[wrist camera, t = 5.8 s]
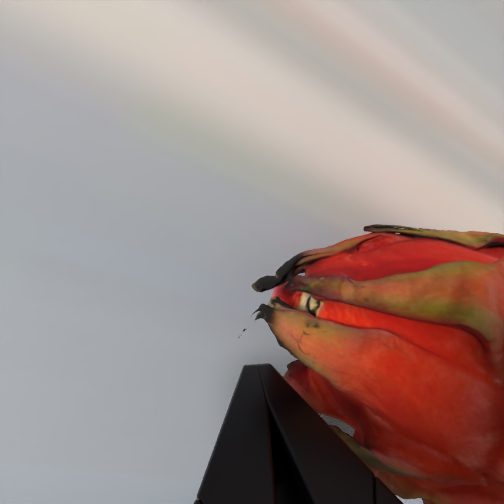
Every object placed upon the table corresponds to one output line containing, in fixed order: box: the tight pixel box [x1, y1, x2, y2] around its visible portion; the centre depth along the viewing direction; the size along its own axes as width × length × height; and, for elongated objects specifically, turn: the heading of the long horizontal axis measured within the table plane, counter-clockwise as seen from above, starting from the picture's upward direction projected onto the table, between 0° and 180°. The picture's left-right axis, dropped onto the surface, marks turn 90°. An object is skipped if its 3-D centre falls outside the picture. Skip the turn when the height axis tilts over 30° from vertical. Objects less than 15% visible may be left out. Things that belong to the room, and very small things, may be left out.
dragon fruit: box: [239, 225, 504, 504], centre depth 8 cm, size 8×8×12 cm
